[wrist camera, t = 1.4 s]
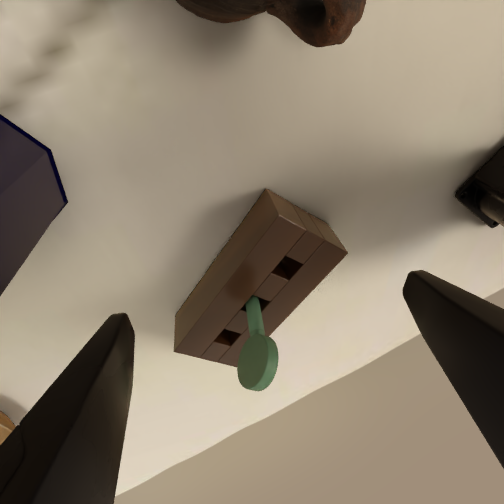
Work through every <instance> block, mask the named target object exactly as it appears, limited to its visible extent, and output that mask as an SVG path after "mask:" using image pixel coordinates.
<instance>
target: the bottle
mask: <svg viewBox="0 0 504 504" xmlns="http://www.w3.org/2000/svg"><path fill="white" fill-rule="evenodd" d="M67 203H68V200H67V197H66V194H65V191H64V188H63V185H62V182H61V179H60V176H59V173H58V170H57V167H56V164H55V161H54V158H53V155H52V152H51V150H50V149H49V148H48V147H46V146H45V145H43V144H42V143H41V142H39V141H38V140H36V139H35V138H33V137H32V136H31V135H29V134H28V133H26V132H25V131H23V130H22V129H21V128H19V127H18V126H16V125H15V124H13V123H12V122H11V121H9V120H8V119H6V118H5V117H3V116H2V115H1V114H0V296H1V294H2V293H3V292H4V290H5V289H6V287H7V286H8V284H9V283H10V281H11V280H12V279H13V277H14V276H15V274H16V273H17V271H18V270H19V268H20V267H21V266H22V264H23V263H24V261H25V260H26V258H27V257H28V255H29V254H30V253H31V251H32V250H33V248H34V247H35V245H36V244H37V242H38V241H39V240H40V238H41V237H42V235H43V234H44V232H45V231H46V229H47V228H48V227H49V225H50V224H51V222H52V221H53V220H54V219H55V217H56V216H57V215H58V214H59V213H60V211H61V210H62V209H63V208H64V207H65V206H66V204H67Z"/></svg>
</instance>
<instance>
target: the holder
mask: <svg viewBox="0 0 504 504" xmlns="http://www.w3.org/2000/svg"><path fill="white" fill-rule="evenodd" d="M347 254H348V252H347V250H346V249H345V247H344V246H343V245H342V243H341V242H340V240H339V239H338V237H337V236H336V235H335V233H334V232H333V230H332V229H331V228H330V226H329V225H328V224H327V223H325V222H323V221H321V220H320V219H318V218H316V217H315V216H313V215H311V214H309V213H307V212H306V211H304V210H303V209H301V208H299V207H297V206H296V205H294V204H292V203H291V202H289V201H287V200H286V199H284V198H282V197H280V196H279V195H277V194H275V193H274V192H272V191H270V190H268V189H265V191H264V192H263V193H262V195H261V196H260V198H259V199H258V200H257V202H256V203H255V205H254V206H253V207H252V209H251V210H250V212H249V213H248V215H247V216H246V217H245V219H244V220H243V222H242V223H241V224H240V226H239V227H238V229H237V230H236V231H235V233H234V234H233V236H232V237H231V238H230V240H229V241H228V243H227V244H226V245H225V247H224V248H223V250H222V251H221V252H220V254H219V255H218V257H217V258H216V259H215V261H214V262H213V264H212V265H211V266H210V268H209V269H208V271H207V272H206V273H205V275H204V276H203V278H202V279H201V280H200V282H199V283H198V285H197V286H196V287H195V289H194V290H193V292H192V293H191V294H190V296H189V297H188V299H187V300H186V302H185V303H184V304H183V306H182V307H181V309H180V310H179V311H178V313H177V314H176V316H175V336H174V352H177V353H181V354H185V355H189V356H193V357H197V358H201V359H205V360H209V361H213V362H218V363H222V364H226V365H230V366H234V367H238V359H239V355H240V352H241V349H242V347H243V345H244V344H245V342H246V341H247V339H248V338H249V337H250V333H249V326H248V319H247V312H246V305H245V303H246V302H247V301H248V299H249V298H250V297H251V296H252V295H254V296H257V297H258V298H259V304H260V309H261V314H262V320H263V325H264V331H265V336H268V337H269V336H270V335H271V334H272V333H273V332H274V330H275V329H276V328H277V327H278V326H279V325H280V324H281V323H282V322H283V321H284V320H285V319H286V318H287V317H288V316H289V315H290V314H291V313H292V312H293V311H294V309H295V308H296V307H297V306H298V305H299V304H300V303H301V302H302V301H303V300H304V299H305V298H306V297H307V296H308V295H309V294H310V293H311V292H312V291H313V290H314V288H315V287H316V286H317V285H318V284H319V283H320V282H321V281H322V280H323V279H324V278H325V277H326V276H327V275H328V274H329V273H330V272H331V271H332V270H333V269H334V267H335V266H336V265H337V264H338V263H339V262H340V261H341V260H342V259H343V258H344V257H345V256H346V255H347Z"/></svg>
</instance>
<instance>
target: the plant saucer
mask: <svg viewBox="0 0 504 504" xmlns="http://www.w3.org/2000/svg"><path fill="white" fill-rule="evenodd" d="M14 428H15V426H14V424H13V423H12V421H11V420H10V419H9V418H8V417H7V416H6V415H5V414H4V413H3V412H1V411H0V445H1V444H2V443H3V441H4V440H5V439H6V438H7V437H8V436H9V434H10V433H11V432H12V431H13V430H14Z"/></svg>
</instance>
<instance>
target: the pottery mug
mask: <svg viewBox="0 0 504 504" xmlns="http://www.w3.org/2000/svg"><path fill="white" fill-rule="evenodd" d="M176 1H177V2H178V3H179V4H180V5H181V6H182V7H184V8H185V9H187V10H189V11H190V12H192V13H194V14H195V15H197V16H199V17H202V18H205V19H208V20H211V21H215V22H220V23H229V22H236V21H240V20H244V19H247V18H250V17H251V16H253V15H256V14H259V13H262V12H265V11H267V13H269V14H271V15H273V16H276V17H277V18H279V19H280V20H281V21H283V22H284V23H285V24H286V25H287V26H289V28H290V29H291V30H292V31H293V32H294V33H295V34H296V35H297V36H298V37H299V38H300V39H301V40H303V41H304V42H306V43H307V44H310V45H312V46H315V47H324V46H331V45H335V44H342V43H343V42H344V41H345V40H346V39H347V38H348V37H349V36H350V34H351V32H352V28H353V27H354V26H355V25H356V24H357V23H358V22H359V21H360V19H361V17H362V15H363V11H364V7H365V4H366V0H176Z"/></svg>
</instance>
